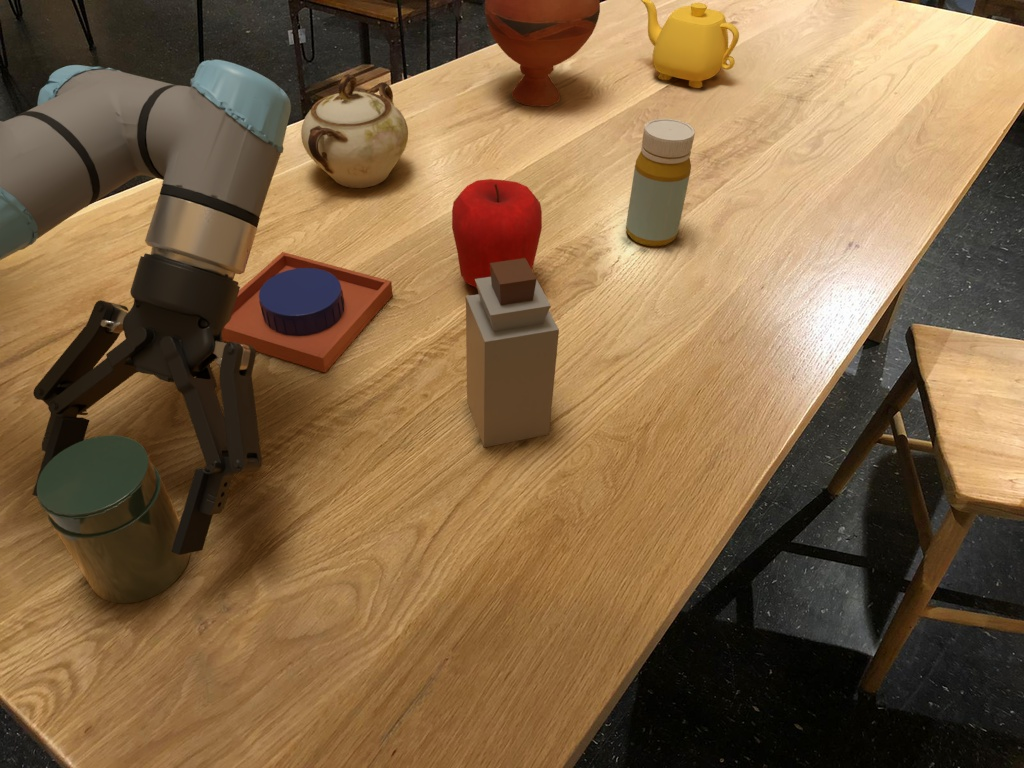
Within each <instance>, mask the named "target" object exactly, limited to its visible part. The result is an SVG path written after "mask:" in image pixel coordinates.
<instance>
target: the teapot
mask: <svg viewBox="0 0 1024 768" xmlns="http://www.w3.org/2000/svg"><path fill="white" fill-rule="evenodd" d="M640 1H641V2H642V3H643V5H644V6H645V8H646V11H647V35H648V39H649V41H650V43H651V44H652V46H654V47H653V51H652V63H653V66H654V68H655V70H656V71H657V72H658V73H659V74H658V76H657V78H658V79H659V80H662V81H670V80H672V78H677V79H682V80H686V81H688V86H689V87H691V88H696V89H700V88H702V87H703V81H705V80H708V79H711V78H712V77H715V76H716V75H717V74H718V73H719V72H720V70H721V69H722V70H731V69H732V68H733V67H734V66H735V62H736V60H735V58H734V56H730V55H731V54H732V52H733V51H734V49H735V47H736V46H737V44H738V42H739V39H740V32H739V29H738V28H737V26H735V25H734V23H731V22H727V21H726V20H727V19H726V16H725V14H724V13H723V12H722V11H718V10H715V9H711V8H708V5H707V4H706V3H703V2H692V3H691V4H690V5H685V6H681V7H678V8H677V9H674V10H673V11H672V12H671V13H670V14H669V16H668V17H667V19H666V20H665V23H664V24H663V26H662V27H661V25H660V24H659V23H660V22H659V20H658V11H657V8H656V7H657V6H656V5H655V3H654V2H653V1H651V0H640ZM728 31H730V32H731V34H732V39H731V42H730V44H729V34H728V33H729V32H728ZM727 61H729V63H727Z"/></svg>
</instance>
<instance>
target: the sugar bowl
mask: <svg viewBox="0 0 1024 768" xmlns="http://www.w3.org/2000/svg"><path fill="white" fill-rule="evenodd" d="M357 84H358V83H357V78H356V76H354V75H352V74H349V73H347V74H345V75H343V76H342V78H341V80H340V82H339V85H338V92H337V93H336V92H335V93H332V94H329V95H327V96H324V97H322V98H320V99H318V100H317V101H316V102H315V103H314V104H313V105H312V106H311V109H309V111H308V112H307V114H306V115H305V116H304V119H303V121H302V125H301V133H300V137H301V142H302V145H303V148H304V149H305V151H306V153H307V155H308V156H309V157H310V158H311V160H313V162H314V163H315V164H316V165H317V166H318V167H319V169H321V170H323V172H325V173H326V174H327V175H328V176H330V178H331V179H333V180H334V182H336V184H339V186H340V185H341V186H342V187H346V188H351V189H366V188H369V187H373V186H377V185H379V184H381V183H383V182H384V181H385V180H386V179H387V178H388V177H389V175H390V173H391V172H392V171H393V168H395V166H396V165H397V163H398V162H399V160H400V159H401V157H402V155H403V154H404V151H405V149H406V147H407V144H408V140H409V139H408V138H409V128H408V124H407V121H406V118H405V117H404V115H403V113H402V112H401V110H400V109H399V108H397V107H396V106H395V104H394V102H393V100H394V94H393V90H392V87H391V86H390V85H389V84H388V83H386V82H383V81H382V82H379V83H377V84H376V85H375V86H373V87H371V88H370V89H369V90H367V91H355V90H356V86H357ZM378 93H379V94H378Z"/></svg>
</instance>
